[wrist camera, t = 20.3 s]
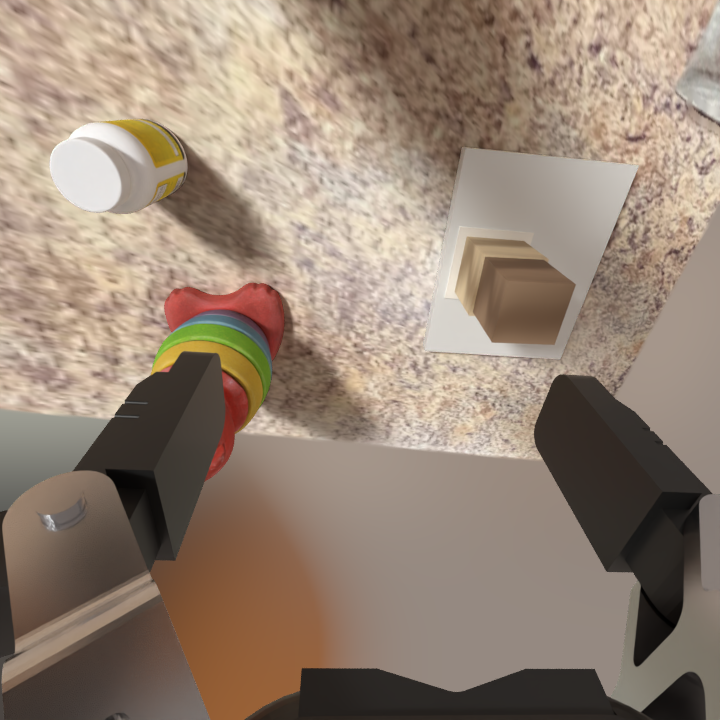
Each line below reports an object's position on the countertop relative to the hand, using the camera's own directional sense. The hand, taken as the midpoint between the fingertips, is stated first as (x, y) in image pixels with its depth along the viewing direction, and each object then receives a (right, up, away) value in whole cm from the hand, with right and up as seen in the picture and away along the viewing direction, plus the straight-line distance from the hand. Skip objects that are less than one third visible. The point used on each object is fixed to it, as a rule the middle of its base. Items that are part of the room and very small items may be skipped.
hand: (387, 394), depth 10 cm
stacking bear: (-13, +4, +30) cm, 33 cm away
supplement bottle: (-17, +17, +22) cm, 33 cm away
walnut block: (+11, +7, +22) cm, 25 cm away
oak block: (+11, +9, +26) cm, 30 cm away
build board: (+13, +10, +28) cm, 32 cm away
